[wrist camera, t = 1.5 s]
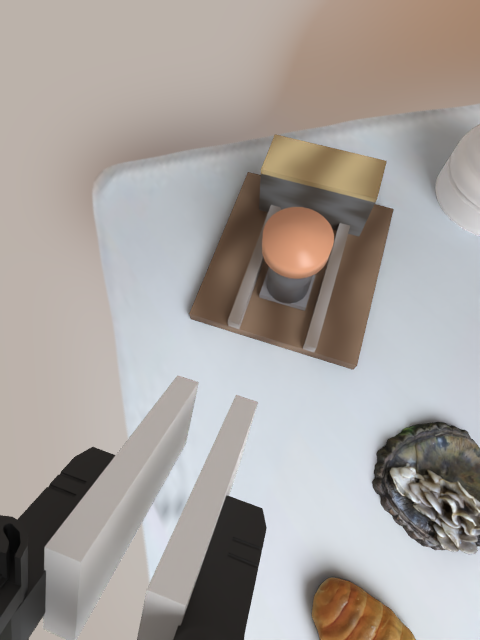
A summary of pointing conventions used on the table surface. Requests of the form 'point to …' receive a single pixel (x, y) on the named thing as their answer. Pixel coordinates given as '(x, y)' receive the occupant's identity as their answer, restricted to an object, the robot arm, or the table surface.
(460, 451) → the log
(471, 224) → the honey pot
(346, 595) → the pastry
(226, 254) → the brown sliding knob board
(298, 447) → the table surface
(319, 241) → the knob
